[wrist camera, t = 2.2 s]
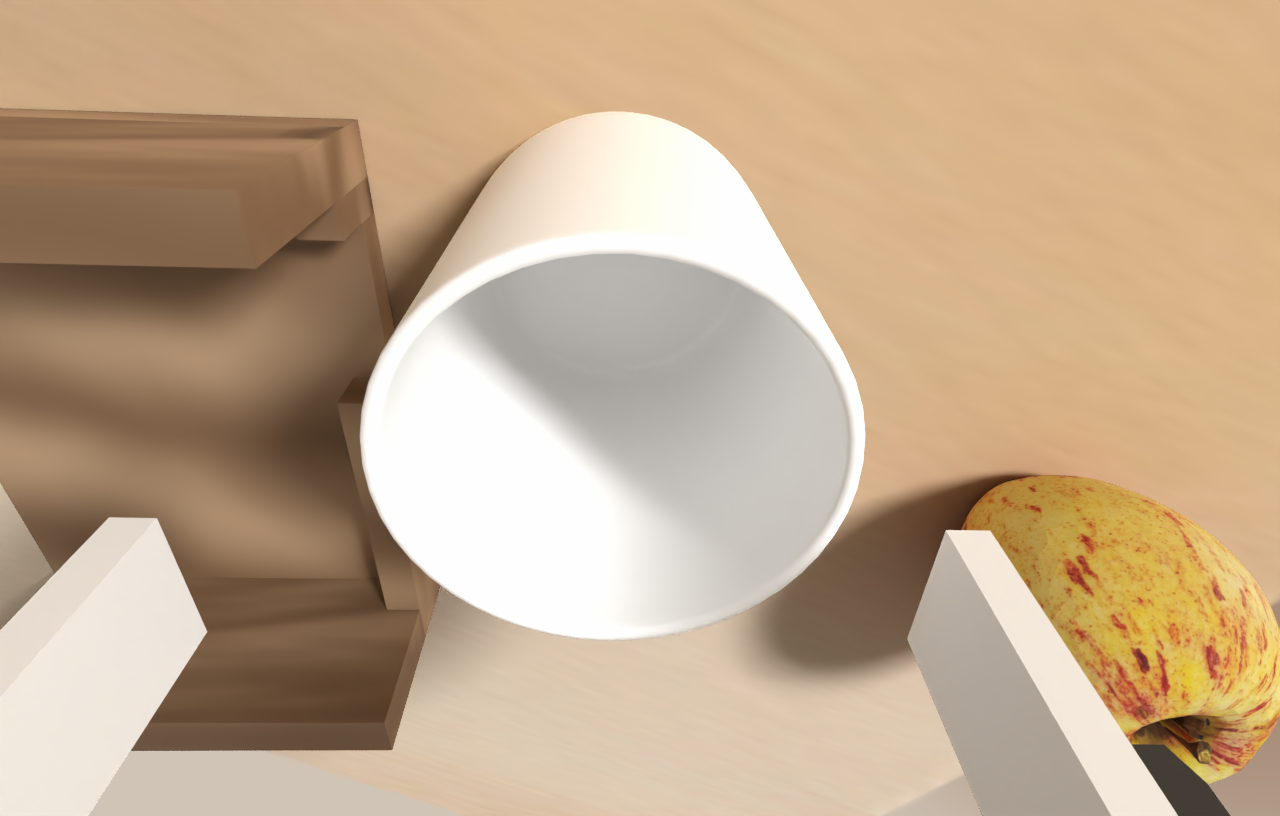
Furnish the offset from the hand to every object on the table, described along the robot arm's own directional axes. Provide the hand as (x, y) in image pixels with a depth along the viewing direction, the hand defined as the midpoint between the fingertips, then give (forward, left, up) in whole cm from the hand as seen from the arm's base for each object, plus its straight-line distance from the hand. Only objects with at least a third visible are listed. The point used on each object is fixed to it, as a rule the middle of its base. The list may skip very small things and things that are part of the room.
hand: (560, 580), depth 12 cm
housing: (+4, -13, -12) cm, 18 cm away
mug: (0, 0, -12) cm, 12 cm away
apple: (+9, +17, -12) cm, 22 cm away
